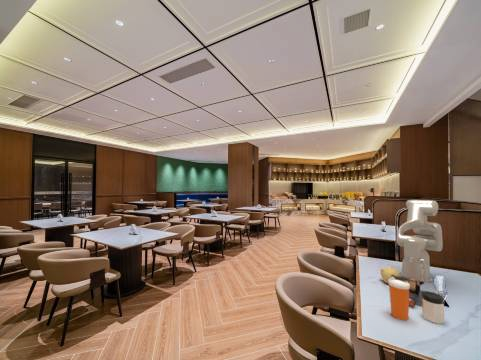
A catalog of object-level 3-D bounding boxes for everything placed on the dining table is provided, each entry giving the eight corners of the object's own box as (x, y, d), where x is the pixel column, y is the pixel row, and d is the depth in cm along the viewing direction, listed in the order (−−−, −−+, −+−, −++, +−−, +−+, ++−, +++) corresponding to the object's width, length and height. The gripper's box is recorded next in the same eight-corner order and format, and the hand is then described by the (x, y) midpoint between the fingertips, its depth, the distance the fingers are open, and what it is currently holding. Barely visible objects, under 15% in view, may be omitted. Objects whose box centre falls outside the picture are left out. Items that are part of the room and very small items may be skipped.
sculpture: (394, 280, 151) (394, 265, 152) (406, 287, 139) (405, 271, 140) (378, 279, 152) (377, 264, 153) (388, 287, 141) (387, 270, 141)
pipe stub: (408, 292, 128) (408, 275, 128) (418, 295, 124) (418, 278, 125) (407, 294, 124) (406, 277, 125) (417, 297, 121) (417, 280, 121)
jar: (448, 321, 104) (447, 297, 104) (440, 326, 100) (439, 300, 101) (426, 312, 112) (425, 289, 112) (418, 316, 108) (417, 292, 109)
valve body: (403, 294, 132) (403, 285, 132) (426, 301, 124) (426, 291, 124) (397, 303, 121) (397, 294, 121) (422, 312, 112) (422, 301, 113)
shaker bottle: (412, 323, 102) (411, 282, 103) (389, 317, 107) (388, 277, 108) (409, 314, 109) (408, 275, 110) (388, 309, 114) (387, 272, 115)
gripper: (431, 261, 122) (432, 293, 121) (396, 254, 134) (397, 283, 133) (430, 264, 117) (430, 298, 116) (393, 257, 129) (394, 287, 128)
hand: (412, 290), depth 124 cm, fingers closed on pipe stub, 3 cm apart
